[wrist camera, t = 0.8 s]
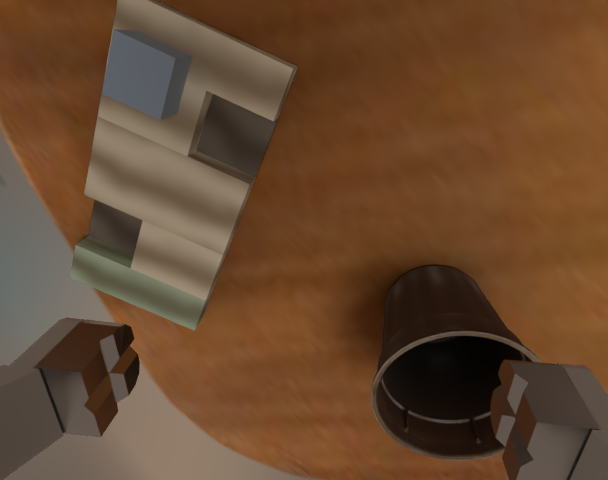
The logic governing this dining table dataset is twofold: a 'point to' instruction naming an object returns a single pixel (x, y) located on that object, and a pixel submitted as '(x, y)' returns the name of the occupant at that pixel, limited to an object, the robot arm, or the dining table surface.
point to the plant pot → (441, 365)
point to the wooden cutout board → (178, 168)
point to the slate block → (145, 73)
